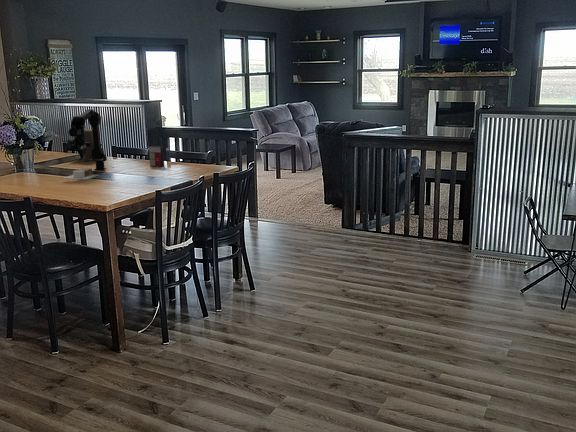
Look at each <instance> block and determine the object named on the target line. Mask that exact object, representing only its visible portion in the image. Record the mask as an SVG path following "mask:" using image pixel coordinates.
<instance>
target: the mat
mask: <svg viewBox="0 0 576 432" xmlns="http://www.w3.org/2000/svg"><path fill="white" fill-rule="evenodd" d="M98 176H100V175H99V174H92V175H89V176H86V177H73V174H71V175H68V176H64V177H61V179H62V180H64V179H65V180H85V181H87V180H89V179H93V178H95V177H98Z"/></svg>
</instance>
